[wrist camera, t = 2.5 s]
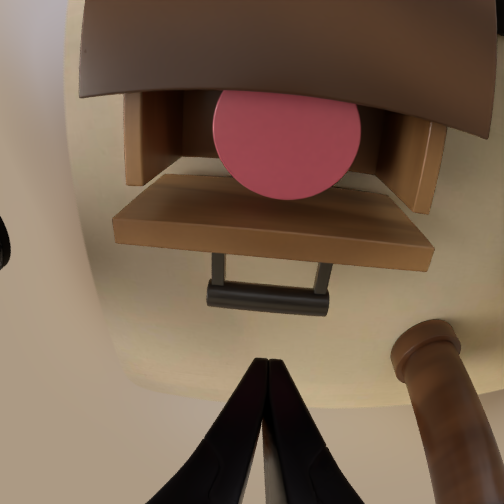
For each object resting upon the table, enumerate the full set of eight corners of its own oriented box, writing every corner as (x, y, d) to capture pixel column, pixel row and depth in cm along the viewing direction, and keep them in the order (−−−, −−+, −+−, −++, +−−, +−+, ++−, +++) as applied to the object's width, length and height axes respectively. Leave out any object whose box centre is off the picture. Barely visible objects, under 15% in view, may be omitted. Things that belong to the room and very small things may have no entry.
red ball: (274, 188, 17) (272, 226, 12) (209, 110, 15) (182, 119, 11) (356, 132, 15) (388, 150, 10) (294, 48, 13) (302, 29, 9)
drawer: (368, 271, 20) (397, 343, 14) (167, 253, 20) (129, 319, 14) (408, 44, 13) (473, 29, 7) (168, 20, 13) (111, -9, 7)
